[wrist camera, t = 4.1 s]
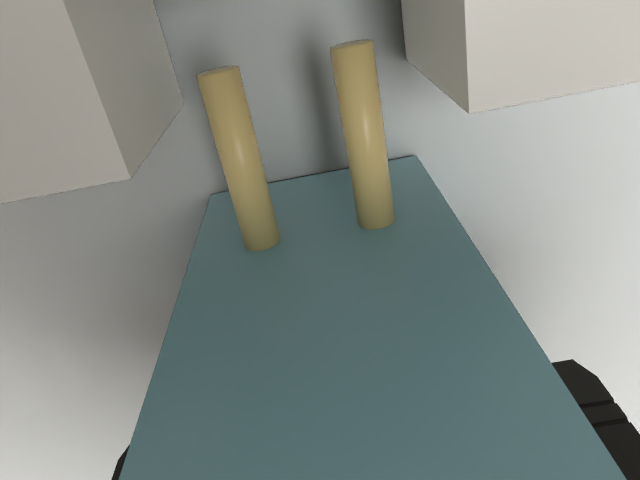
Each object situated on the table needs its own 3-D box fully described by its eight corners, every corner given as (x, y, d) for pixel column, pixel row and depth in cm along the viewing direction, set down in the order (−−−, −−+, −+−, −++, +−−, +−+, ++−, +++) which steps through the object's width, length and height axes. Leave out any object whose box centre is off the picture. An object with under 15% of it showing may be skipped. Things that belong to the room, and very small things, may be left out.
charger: (168, 58, 11) (-292, 450, 2) (402, 11, 11) (887, 240, 2) (275, 404, 16) (261, 950, 7) (437, 377, 16) (624, 901, 7)
